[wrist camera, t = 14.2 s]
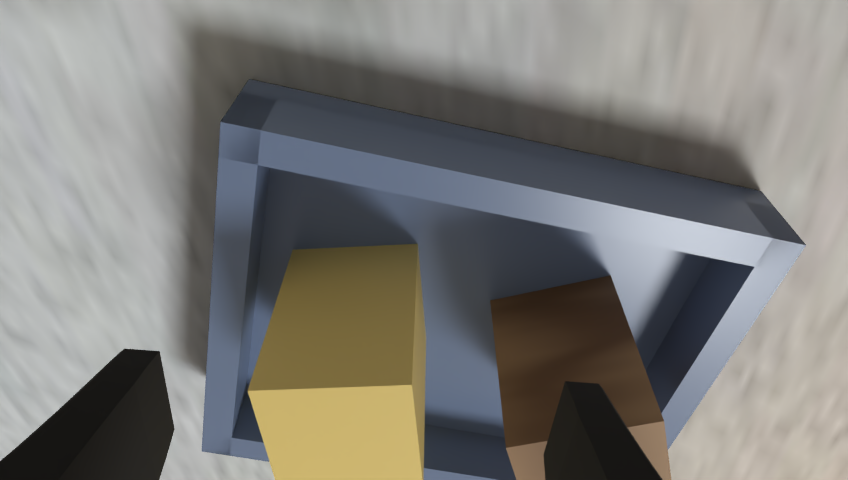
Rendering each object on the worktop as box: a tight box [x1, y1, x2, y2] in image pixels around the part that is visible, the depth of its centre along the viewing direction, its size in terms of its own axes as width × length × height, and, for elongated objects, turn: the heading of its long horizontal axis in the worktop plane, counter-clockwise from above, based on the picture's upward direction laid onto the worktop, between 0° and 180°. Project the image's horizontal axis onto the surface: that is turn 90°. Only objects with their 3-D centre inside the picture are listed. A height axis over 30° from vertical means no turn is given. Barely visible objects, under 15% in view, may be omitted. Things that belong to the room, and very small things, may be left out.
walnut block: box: [490, 275, 671, 480], centre depth 20 cm, size 4×4×6 cm
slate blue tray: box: [202, 79, 806, 480], centre depth 22 cm, size 16×13×3 cm
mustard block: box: [248, 244, 426, 480], centre depth 19 cm, size 4×4×6 cm
